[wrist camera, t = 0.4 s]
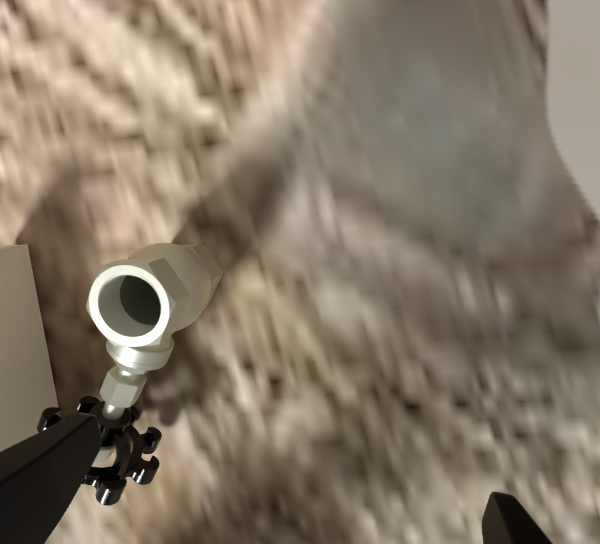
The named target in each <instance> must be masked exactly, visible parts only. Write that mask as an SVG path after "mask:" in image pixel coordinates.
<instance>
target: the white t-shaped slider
mask: <svg viewBox="0 0 600 544" xmlns="http://www.w3.org/2000/svg"><path fill="white" fill-rule="evenodd" d="M49 407H58V402H57V396H56V391H55V386H54V381H53V375H52V370H51V365H50V360H49V355H48V349H47V344H46V339H45V334H44V328H43V323H42V318H41V313H40V308H39V302H38V297H37V292H36V287H35V282H34V276H33V271H32V266H31V261H30V255H29V250H28V245H27V244H23V245H8V246H1V247H0V452H1V451H3V450H5V449H7V448H9V447H11V446H13V445H15V444H17V443H19V442H21V441H23V440H25V439H27V438H29V437H31V436H33V435H35V434H37V433H39V432H38V431H37V425H38V422H39V420H40V417H41V414H42V412H43V411H44V410H45V409H46V408H49ZM58 408H59V407H58ZM59 416H60V415H59Z"/></svg>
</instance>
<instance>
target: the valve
mask: <svg viewBox="0 0 600 544" xmlns="http://www.w3.org/2000/svg"><path fill="white" fill-rule="evenodd" d="M222 275H223V271H222V270H221V268H220V267H219V265H218V264H217V263H216V261H215V260H214V258H213V257H212V255H211V254H210V253H209V251H208V250H207V248H206V247H205V246H204V244H203V243H202V244H184V245H177V244H171V243H157V244H152V245H148V246H146V247H143V248H141V249H139V250H137V251H136V252H134V253H133V254H132V255H130V256H129V257H128V258H127V259H125V260H119V261H116V262H112V263H109V264H106V265H102V266H101V268H100V270H99V272H98V274H97V276H96V278H95V280H94V283H93V285H92V287H91V290H90V293H89V297H88V300H87V304H86V309H87V311H88V313H89V315H90V316H91V318H92V320H93V321H94V323H95V324H96V326H97V327H98V329H99V330H100V331H101V332H102V333H103V335H104V336H105V337H106V338H107V339H108V340H107V342H106V349H107V352H108V353H109V355H110V356H111V357H112V358H113V360H114V362H115V363H116V366H114V367H113V368H112V369H110V370H109V371H108V372H107V375H106V377H105V380H104V382H103V385H102V387H101V389H100V392H99V393H100V395H101V397H102V398H103V400H104V401H102V402H100V400H99V399H97V398H95V397H92V396H86V397H83V398H82V399H81V400H80V402H79V404H78V407H77V409H76V412H75V414H78V413H86V414H92V415H95V416H96V417H97V418H98V422H99V428H100V433H101V439H102V444H101V448H100V451H99V453H98V455H97V457H96V458H95V460H94V461H105V460H107V459H108V458H109V457H110V456H111V455H112V453H113V452H114V451H115V450H116V459H115V461H114V464H113V466H111V467H104V468H99V467H90V469H89V471H88V473H87V475H86V476H85V478H84V480H83V482H82V484H87V485H92V486H94V487H95V488H96V490H97V491H96V499H97V501H98V502H99V503H101V504H103V505H113V504H115V503H117V502H118V501H119V499H120V497H121V495H122V493H123V490H124V488H125V486H126V483H127V481H126V477H132V478H133V480H134V481H135V482H136V483H138V484H141V485H145V484H149V483H150V482H151V481H152V480H153V478H154V476H155V474H156V472H157V470H158V467H159V460H158V459H157V458H156V457H155V456H152V458H151V460H150V461H145V460H143V459H142V457H141V456H142V453H144V454H151V453H153V452H155V450H156V448H157V446H158V444H159V442H160V440H161V437H162V434H161V432H160V431H159V430H158V429H157V428H154V427H148V429H147V432H146V433H144V434H139V432H138V431H137V430H136V429H135V428H134V427H133V424H134V422H135V420H136V417H137V415H138V410H137V409H136V408H135V407H133V406H132V405H133V404H134V403H135V402H136V401H137V400H138V398H139V396H140V394H141V392H142V389H143V387H144V385H145V383H146V380H147V377H146V376H145V375H144V374H145V373H146V372H147V371H149V370H156V369H159V368H162V367H163V366H165V364H166V363H167V361H168V359H169V357H170V354H171V352H172V350H173V348H174V341H173V338H172V337H171V335H172V334H173V333H174V332H175V331H178V330H181V329H183V328H185V327H187V326H188V325H190V324H192V323H193V322H194V321H195V320H196V319H197V318H198V317H199V316H200V315H201V314H202V312H203V311H204V309H205V307H206V306H207V305H208V304H209V303H210V302H211V300H212V297H213V295H214V293H215V291H216V289H217V286H218V284H219V282H220V280H221V277H222ZM61 410H62V409H61V408H58V407H49V408H46V409H45V410H44V411H43V412H42V414H41V417H40V420H39V422H38V425H37V431H38V432H41V431H43V430H45V429H47V428H49V427H51V426H53V425H55V424H57V423H59V422H61V421H63V420H65V419H67V418H69V417H71V416H73V415H75V414H73V415H70V416H67V417H65V418H64V419H63V418H61V417H60V416H59V415H60V413H61ZM124 478H125V479H124Z"/></svg>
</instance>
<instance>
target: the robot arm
mask: <svg viewBox="0 0 600 544" xmlns="http://www.w3.org/2000/svg"><path fill="white" fill-rule="evenodd" d="M101 444H102V439H101V433H100V428H99V422H98V418H97V417H96V416H95V415H92V414H86V413H78V414H75V415H73V416H71V417H69V418H67V419H65V420H63V421H61V422H59V423H57V424H55V425H53V426H51V427H49V428H47V429H45V430H43V431H41V432H39V433H37V434H35V435H33V436H31V437H29V438H27V439H25V440H23V441H21V442H19V443H17V444H15V445H13V446H11V447H9V448H7V449H5V450H3V451H1V452H0V544H44V543H45V542H46V540H47V539H48V537H49V536H50V534H51V533H52V531H53V530H54V528H55V527H56V526H57V524H58V522H59V521H60V519H61V518H62V516H63V515H64V513H65V512H66V510H67V508H68V507H69V505H70V503H71V501H72V500H73V498H74V496H75V494H76V492H77V491H78V489H79V487H80V485H81V484H82V482H83V480H84V478H85V476H86V475H87V473H88V471H89V469H90V467H91V466H92V464H93V462H94V460H95V458H96V457H97V455H98V453H99V451H100V448H101ZM482 535H483V544H553V543H552V542H551V541H550V540H549V538H548V537H547V536H546V535H545V534H544V532H543V531H542V530H541V529H540V527H539V526H538V525H537V524H536V522H535V521H534V520H533V519H532V517H531V516H530V515H529V514H528V512H527V511H526V510H525V509H524V507H523V506H522V505H521V504H520V502H519V501H518V500H517V499H516V498H515V497H514V496H512V495H510V494H505V493H500V492H492V493H491V494H490V497H489V500H488V503H487V506H486V509H485V512H484V516H483V519H482Z"/></svg>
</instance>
